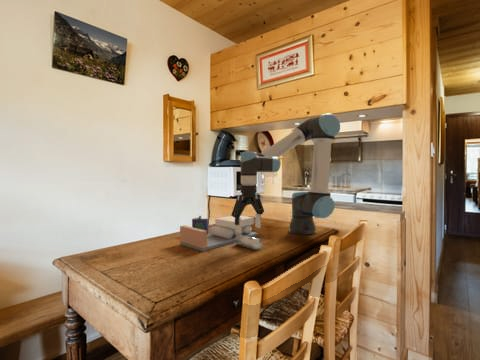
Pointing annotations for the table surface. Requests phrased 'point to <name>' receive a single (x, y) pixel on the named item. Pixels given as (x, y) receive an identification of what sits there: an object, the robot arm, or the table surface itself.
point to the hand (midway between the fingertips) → (248, 229)
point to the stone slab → (233, 221)
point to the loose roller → (248, 242)
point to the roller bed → (211, 236)
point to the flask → (200, 223)
